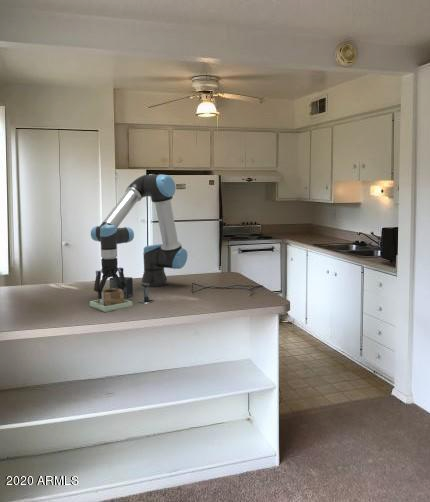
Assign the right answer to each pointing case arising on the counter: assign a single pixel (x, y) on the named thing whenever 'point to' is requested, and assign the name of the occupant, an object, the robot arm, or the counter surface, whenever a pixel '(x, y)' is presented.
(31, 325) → the counter surface
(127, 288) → the small box
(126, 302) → the tray
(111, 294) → the collar
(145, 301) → the dark grey knobbed stand
